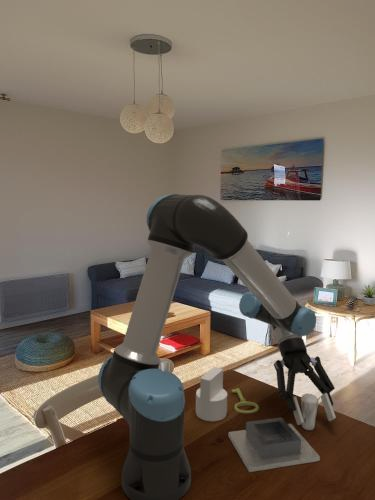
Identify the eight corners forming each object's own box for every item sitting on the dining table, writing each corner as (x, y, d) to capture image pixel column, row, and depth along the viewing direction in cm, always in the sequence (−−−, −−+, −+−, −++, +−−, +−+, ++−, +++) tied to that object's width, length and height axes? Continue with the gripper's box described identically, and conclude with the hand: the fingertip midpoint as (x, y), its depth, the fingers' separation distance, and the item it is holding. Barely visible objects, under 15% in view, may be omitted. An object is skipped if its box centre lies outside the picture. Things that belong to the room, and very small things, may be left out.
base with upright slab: (218, 424, 109) (219, 383, 108) (190, 415, 114) (190, 375, 112) (231, 409, 117) (233, 371, 115) (204, 401, 121) (205, 364, 120)
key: (237, 392, 128) (238, 386, 128) (261, 411, 117) (262, 404, 117) (218, 397, 125) (219, 391, 124) (241, 417, 114) (241, 410, 114)
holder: (249, 472, 91) (249, 453, 90) (228, 436, 104) (228, 419, 103) (319, 460, 95) (320, 442, 94) (290, 427, 108) (291, 411, 108)
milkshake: (312, 435, 105) (314, 399, 104) (296, 425, 109) (297, 391, 108) (322, 429, 108) (325, 394, 106) (306, 420, 112) (308, 386, 111)
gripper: (317, 344, 124) (345, 420, 110) (252, 349, 119) (274, 430, 105) (328, 333, 118) (359, 412, 105) (260, 338, 113) (284, 422, 99)
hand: (316, 421), depth 105 cm, fingers open, 9 cm apart
